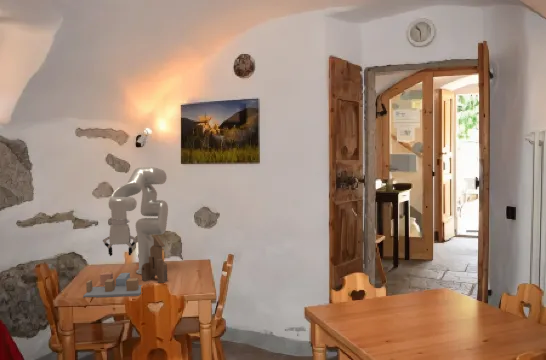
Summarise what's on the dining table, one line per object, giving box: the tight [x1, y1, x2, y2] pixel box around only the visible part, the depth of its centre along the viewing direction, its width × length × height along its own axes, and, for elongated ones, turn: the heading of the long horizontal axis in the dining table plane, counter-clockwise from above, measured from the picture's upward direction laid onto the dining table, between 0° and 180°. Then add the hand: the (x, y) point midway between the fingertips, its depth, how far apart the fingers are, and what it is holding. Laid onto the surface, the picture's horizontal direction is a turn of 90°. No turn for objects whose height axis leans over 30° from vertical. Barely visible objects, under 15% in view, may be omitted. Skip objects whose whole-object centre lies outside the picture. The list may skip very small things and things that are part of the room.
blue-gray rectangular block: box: [115, 272, 131, 286], centre depth 279 cm, size 13×4×5 cm, turn 4°
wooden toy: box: [141, 235, 169, 284], centre depth 285 cm, size 16×7×25 cm, turn 55°
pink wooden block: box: [99, 272, 114, 287], centre depth 279 cm, size 4×6×6 cm
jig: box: [82, 277, 143, 298], centre depth 263 cm, size 16×27×6 cm, turn 94°
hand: (120, 255), depth 272 cm, fingers open, 9 cm apart
